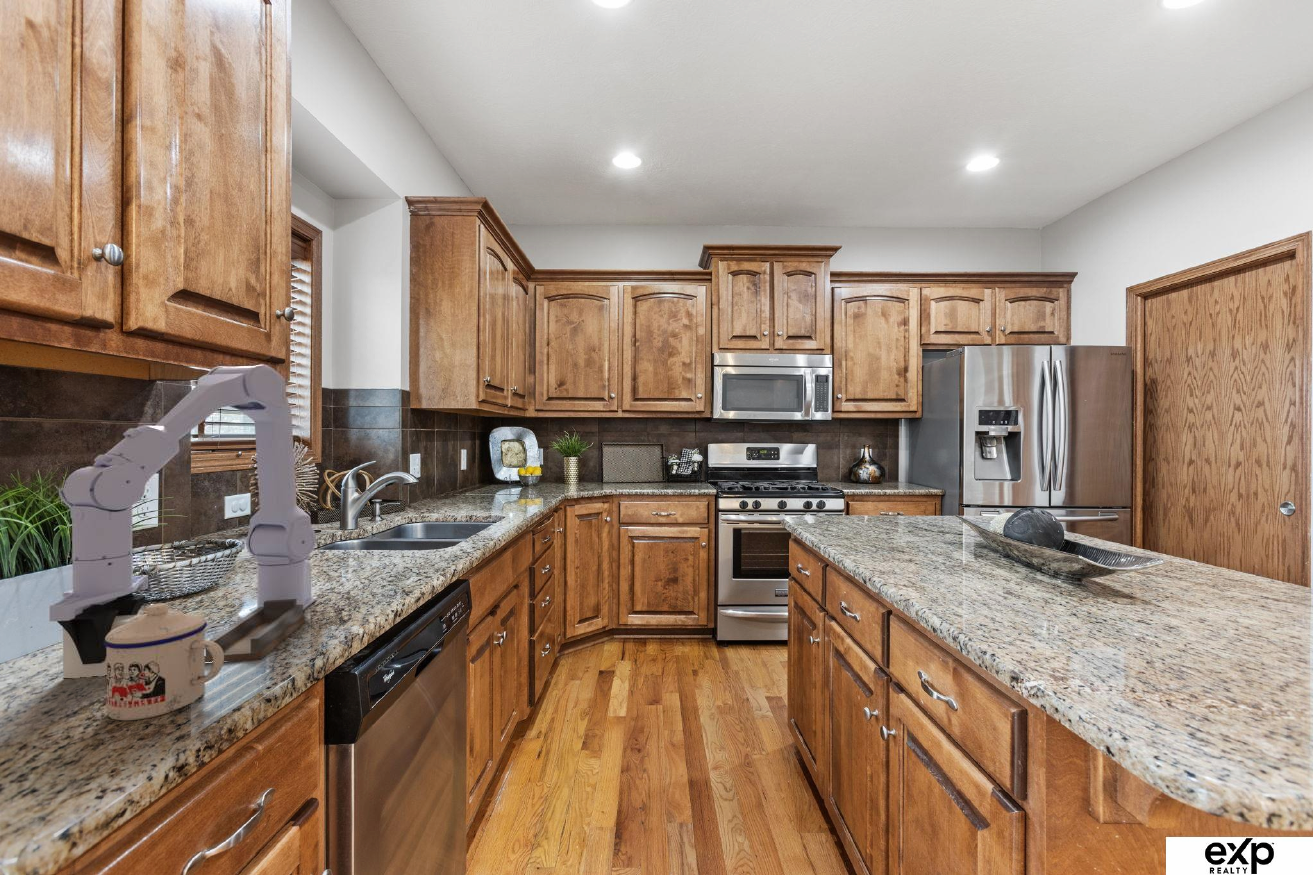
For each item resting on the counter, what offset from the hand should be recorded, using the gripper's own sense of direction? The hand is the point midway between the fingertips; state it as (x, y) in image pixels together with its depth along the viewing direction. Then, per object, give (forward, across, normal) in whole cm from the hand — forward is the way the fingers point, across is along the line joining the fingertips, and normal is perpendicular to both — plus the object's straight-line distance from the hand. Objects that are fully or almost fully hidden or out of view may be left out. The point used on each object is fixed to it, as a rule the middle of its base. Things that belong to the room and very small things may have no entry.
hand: (103, 657), depth 75 cm
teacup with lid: (+2, +12, +14) cm, 19 cm away
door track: (+2, -8, +15) cm, 17 cm away
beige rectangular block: (+2, 0, 0) cm, 2 cm away
